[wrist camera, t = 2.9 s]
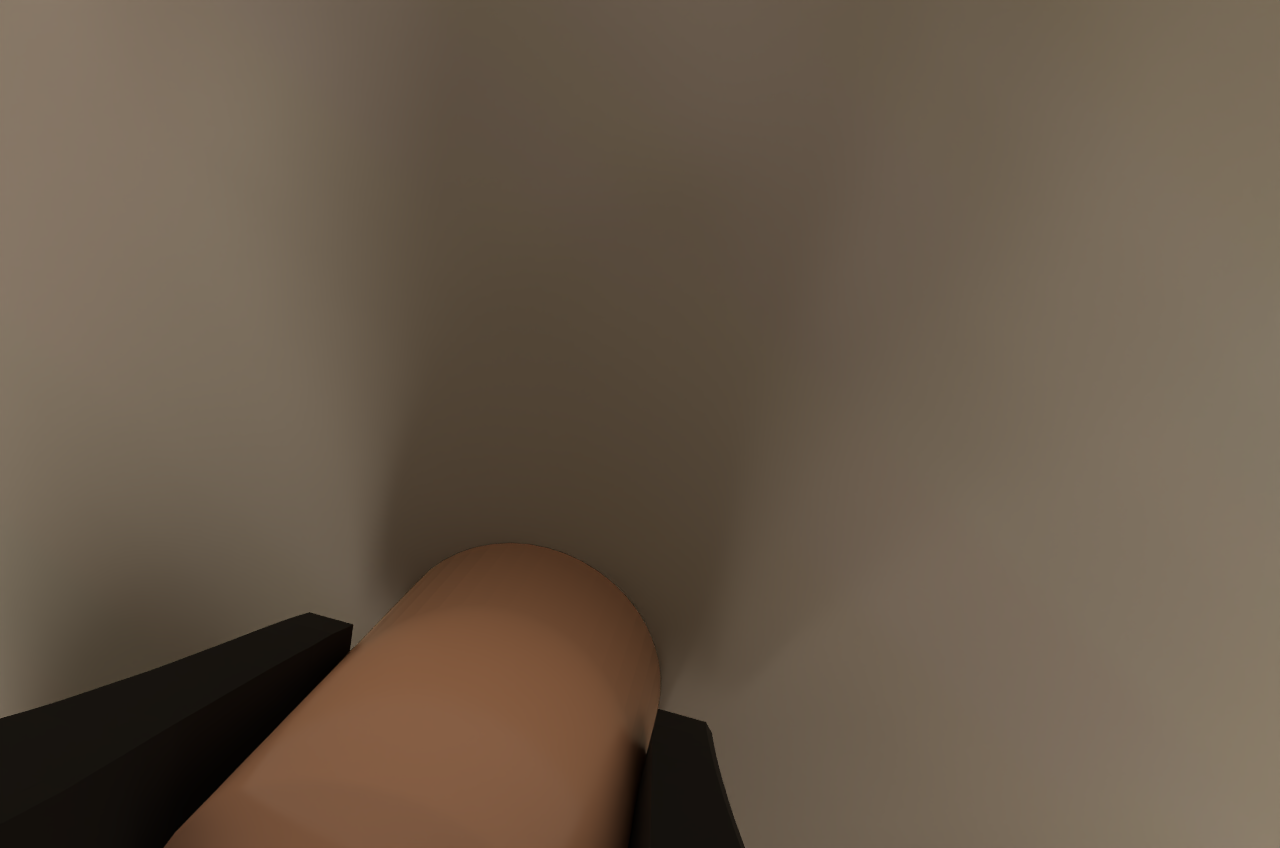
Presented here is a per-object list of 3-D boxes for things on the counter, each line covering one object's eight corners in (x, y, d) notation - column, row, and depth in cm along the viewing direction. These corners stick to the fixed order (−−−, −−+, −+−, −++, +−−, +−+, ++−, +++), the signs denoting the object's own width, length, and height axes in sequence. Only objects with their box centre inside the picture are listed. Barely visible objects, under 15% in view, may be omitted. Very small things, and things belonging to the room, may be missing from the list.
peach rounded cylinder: (374, 752, 12) (129, 1086, 8) (409, 512, 11) (151, 721, 7) (628, 826, 12) (539, 1223, 7) (688, 585, 11) (633, 863, 6)
